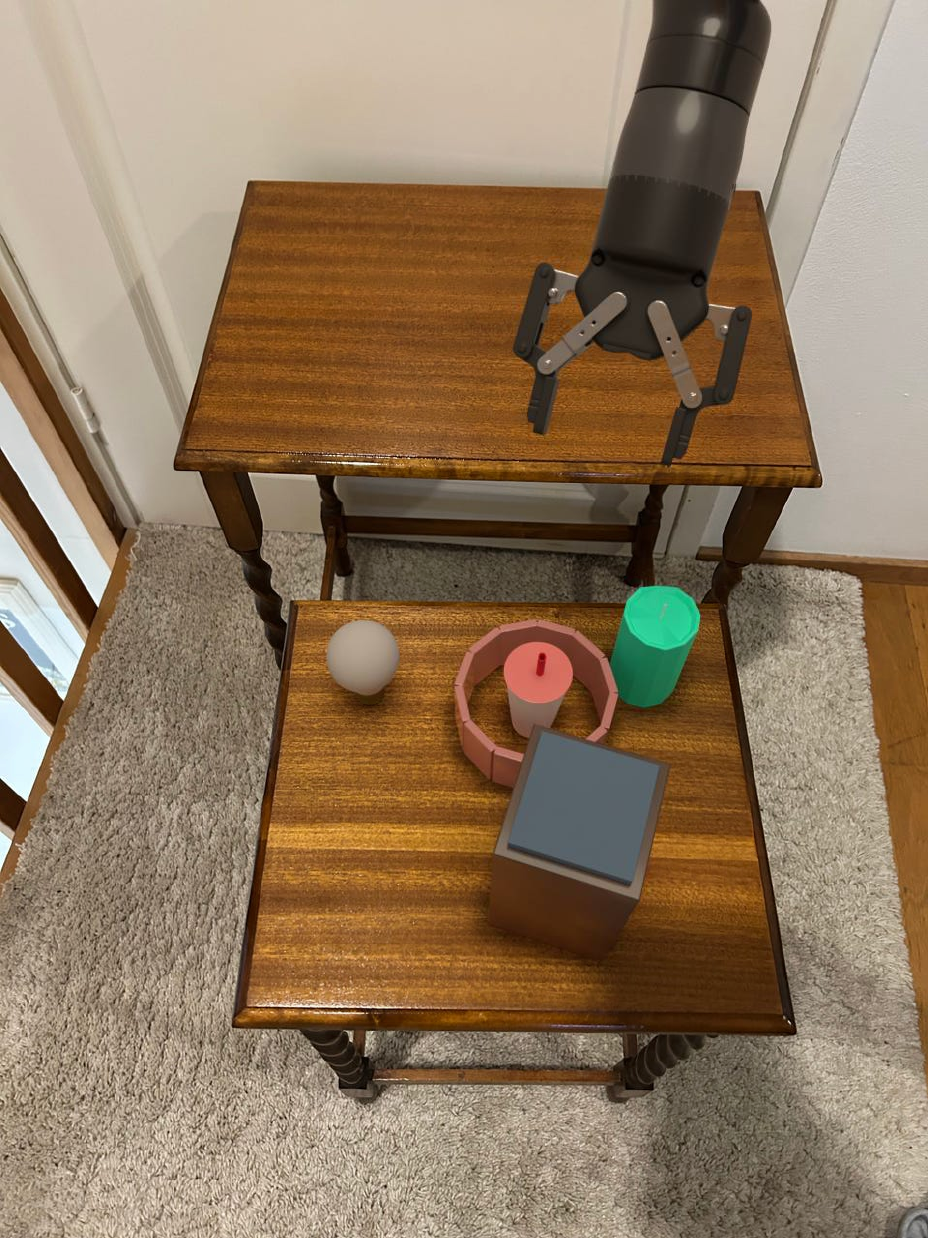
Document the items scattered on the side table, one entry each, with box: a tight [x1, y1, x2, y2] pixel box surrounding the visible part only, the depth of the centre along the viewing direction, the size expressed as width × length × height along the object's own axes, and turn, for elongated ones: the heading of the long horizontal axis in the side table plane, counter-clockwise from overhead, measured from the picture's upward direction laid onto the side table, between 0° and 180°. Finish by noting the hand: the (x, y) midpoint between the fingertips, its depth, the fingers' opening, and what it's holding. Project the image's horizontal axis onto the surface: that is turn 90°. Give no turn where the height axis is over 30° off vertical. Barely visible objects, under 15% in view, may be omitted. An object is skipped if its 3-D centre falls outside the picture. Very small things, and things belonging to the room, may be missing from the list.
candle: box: [609, 585, 701, 709], centre depth 77 cm, size 6×6×12 cm
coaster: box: [507, 731, 660, 885], centre depth 57 cm, size 8×8×1 cm
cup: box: [503, 642, 574, 739], centre depth 75 cm, size 5×5×12 cm
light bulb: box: [326, 619, 401, 705], centre depth 77 cm, size 6×6×10 cm
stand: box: [487, 724, 671, 963], centre depth 65 cm, size 9×9×18 cm
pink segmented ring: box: [453, 618, 619, 789], centre depth 78 cm, size 13×13×6 cm
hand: (602, 449), depth 62 cm, fingers open, 8 cm apart
